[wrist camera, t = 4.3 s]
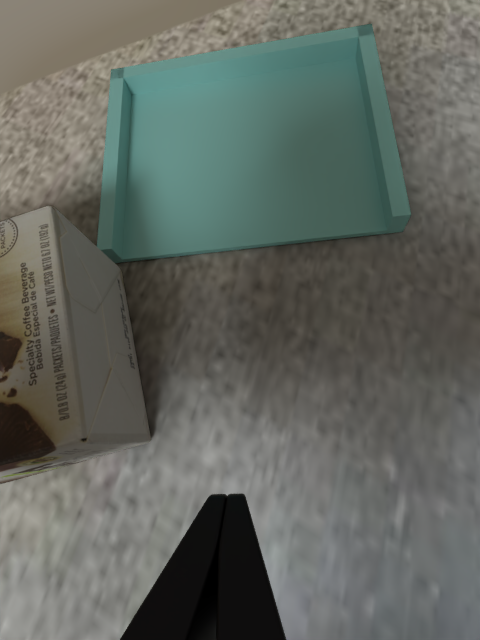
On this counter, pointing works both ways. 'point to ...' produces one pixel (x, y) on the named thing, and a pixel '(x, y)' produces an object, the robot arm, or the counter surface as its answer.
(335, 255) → the counter surface
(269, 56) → the tray
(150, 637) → the robot arm
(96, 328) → the coffee box
